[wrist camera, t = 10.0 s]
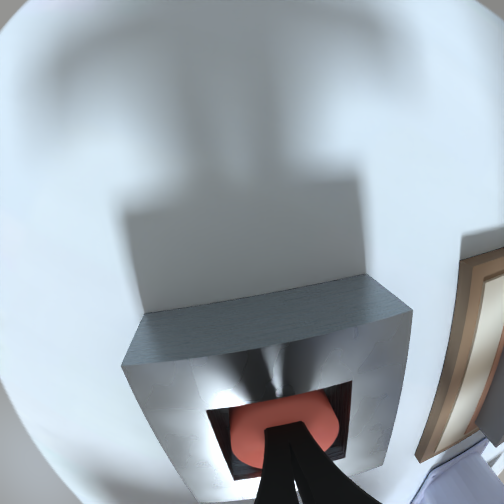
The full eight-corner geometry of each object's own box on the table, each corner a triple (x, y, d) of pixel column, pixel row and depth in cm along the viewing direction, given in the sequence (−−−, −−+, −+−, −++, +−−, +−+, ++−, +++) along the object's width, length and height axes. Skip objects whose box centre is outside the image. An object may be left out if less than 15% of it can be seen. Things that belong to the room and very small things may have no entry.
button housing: (359, 420, 14) (382, 464, 11) (199, 452, 14) (198, 503, 10) (366, 273, 12) (413, 310, 8) (144, 313, 11) (120, 366, 8)
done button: (323, 421, 12) (337, 455, 10) (237, 438, 12) (241, 475, 10) (322, 356, 11) (340, 391, 9) (219, 376, 11) (220, 416, 9)
